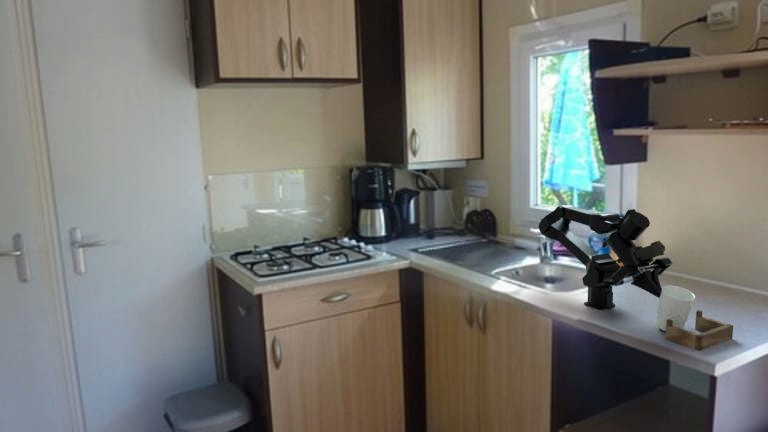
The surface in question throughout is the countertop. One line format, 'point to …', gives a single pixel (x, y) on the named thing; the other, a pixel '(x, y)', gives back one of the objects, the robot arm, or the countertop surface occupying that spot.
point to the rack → (711, 336)
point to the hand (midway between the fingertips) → (661, 297)
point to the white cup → (674, 306)
